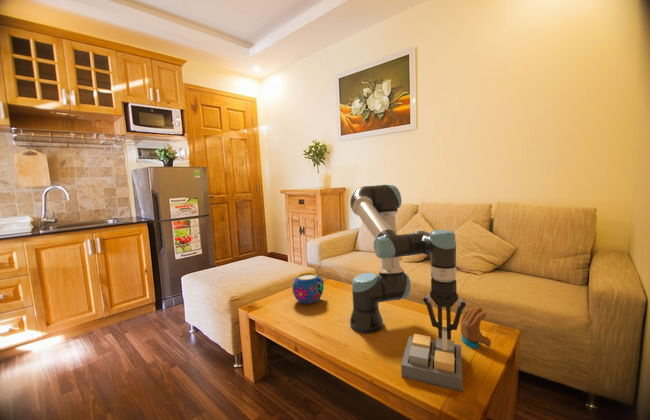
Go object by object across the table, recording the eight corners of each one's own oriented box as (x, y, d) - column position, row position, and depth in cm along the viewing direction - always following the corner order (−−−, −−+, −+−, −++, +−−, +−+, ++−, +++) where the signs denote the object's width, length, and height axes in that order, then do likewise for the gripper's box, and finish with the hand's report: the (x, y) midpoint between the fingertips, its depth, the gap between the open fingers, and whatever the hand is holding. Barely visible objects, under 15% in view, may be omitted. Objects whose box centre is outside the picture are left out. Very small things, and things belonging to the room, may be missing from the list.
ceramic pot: (324, 307, 148) (322, 280, 146) (291, 309, 148) (289, 282, 146) (324, 294, 165) (323, 270, 163) (295, 295, 165) (293, 271, 164)
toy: (492, 352, 103) (492, 314, 102) (475, 354, 103) (475, 315, 101) (472, 334, 115) (472, 300, 114) (456, 336, 115) (456, 301, 113)
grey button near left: (409, 366, 94) (408, 355, 93) (411, 355, 99) (411, 345, 99) (427, 370, 91) (427, 359, 91) (429, 359, 97) (429, 348, 96)
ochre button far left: (412, 352, 101) (412, 342, 101) (414, 343, 106) (414, 333, 106) (429, 356, 98) (429, 345, 98) (431, 346, 104) (430, 336, 103)
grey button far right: (435, 357, 98) (435, 346, 97) (436, 347, 103) (436, 337, 103) (454, 361, 95) (454, 350, 95) (454, 351, 100) (454, 340, 100)
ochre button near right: (434, 371, 90) (434, 360, 90) (435, 360, 96) (435, 350, 95) (454, 376, 88) (454, 364, 87) (454, 364, 93) (454, 353, 93)
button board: (401, 377, 93) (401, 364, 93) (409, 346, 110) (409, 335, 109) (462, 392, 85) (462, 378, 85) (461, 356, 102) (461, 345, 101)
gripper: (420, 280, 88) (422, 350, 90) (466, 284, 82) (467, 358, 85) (423, 273, 95) (425, 338, 97) (465, 276, 89) (466, 345, 91)
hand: (444, 347), depth 91 cm, fingers closed
